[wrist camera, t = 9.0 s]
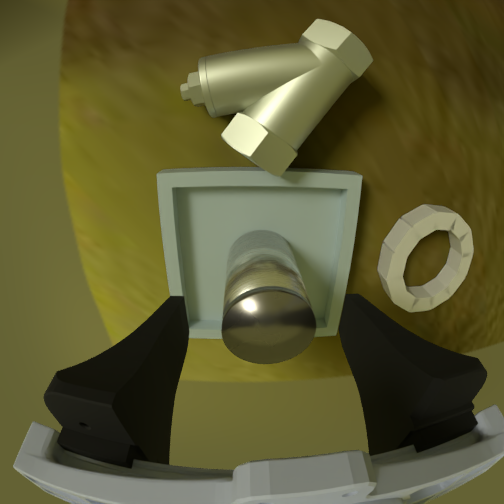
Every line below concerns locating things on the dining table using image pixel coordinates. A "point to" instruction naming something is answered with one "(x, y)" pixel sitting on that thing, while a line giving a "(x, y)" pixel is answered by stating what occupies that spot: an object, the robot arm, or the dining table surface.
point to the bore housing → (404, 242)
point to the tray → (257, 218)
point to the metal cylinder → (265, 301)
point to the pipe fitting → (278, 90)
